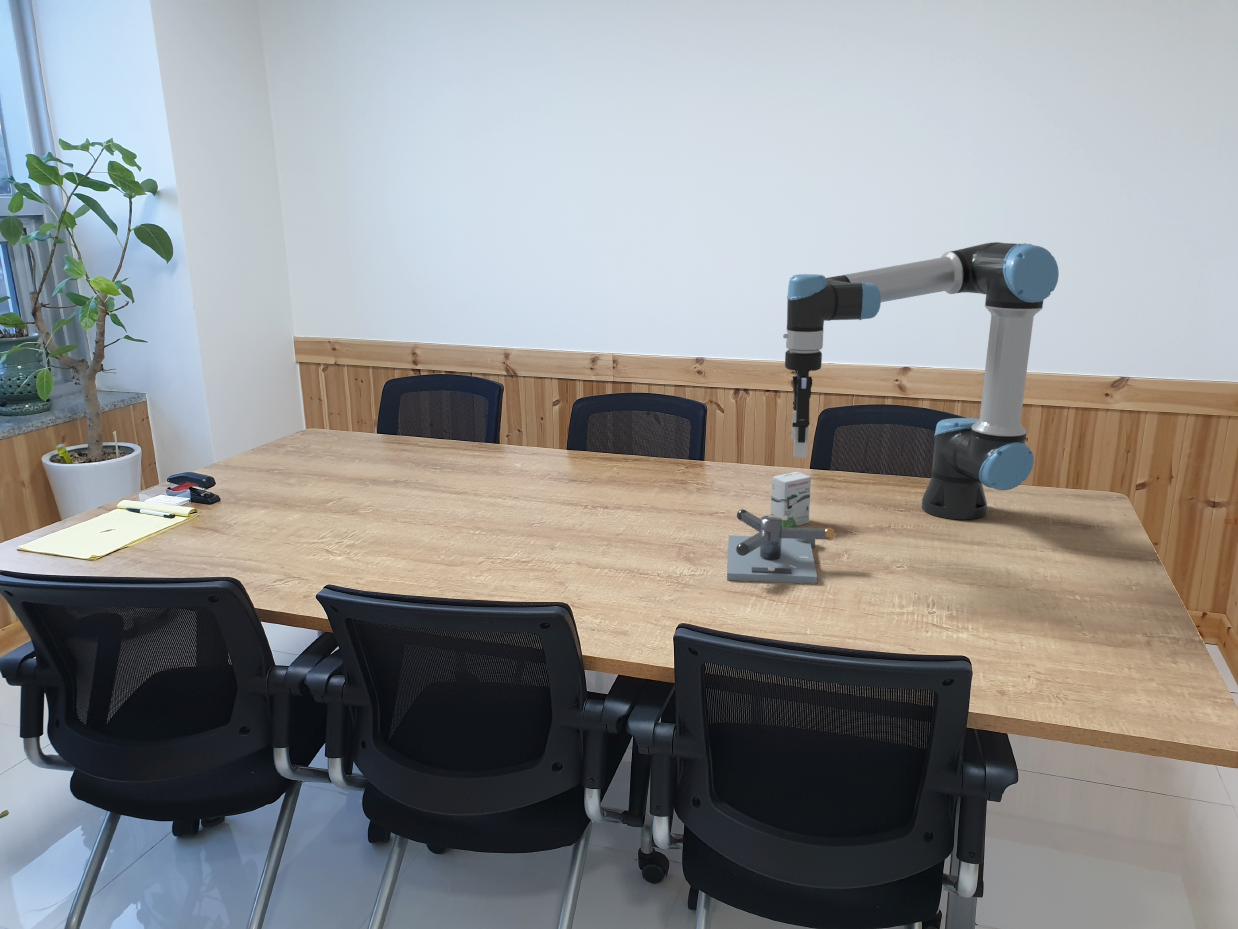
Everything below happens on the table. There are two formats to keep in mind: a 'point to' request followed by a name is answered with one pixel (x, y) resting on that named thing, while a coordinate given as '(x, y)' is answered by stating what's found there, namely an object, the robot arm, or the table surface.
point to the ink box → (791, 498)
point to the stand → (773, 562)
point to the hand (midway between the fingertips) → (799, 448)
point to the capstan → (775, 534)
